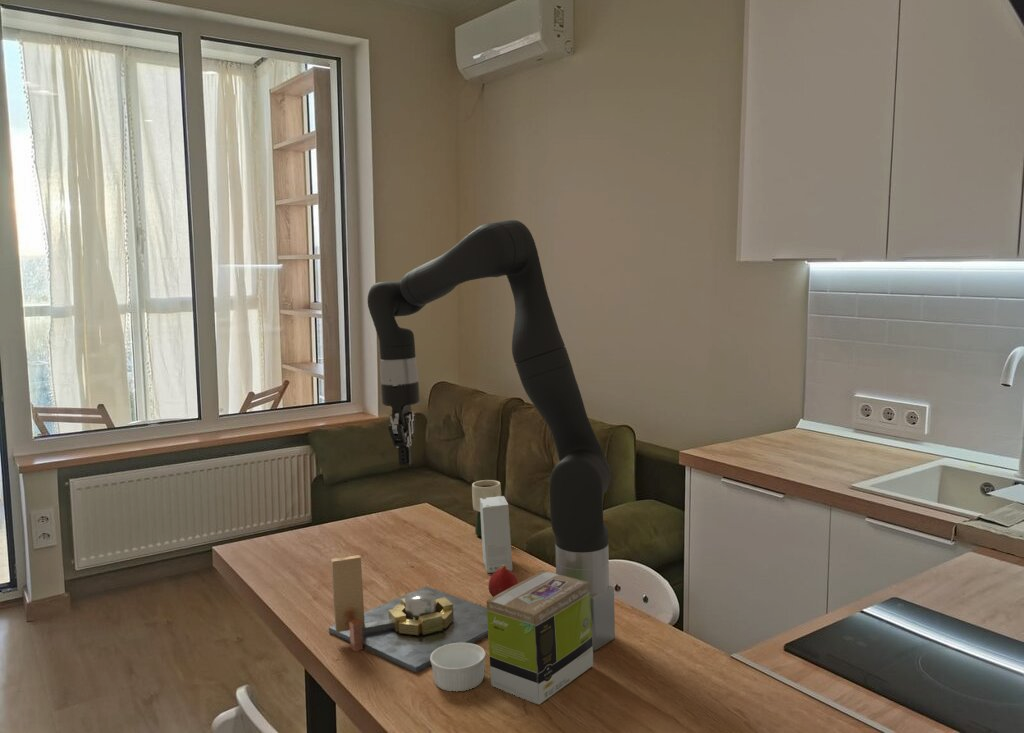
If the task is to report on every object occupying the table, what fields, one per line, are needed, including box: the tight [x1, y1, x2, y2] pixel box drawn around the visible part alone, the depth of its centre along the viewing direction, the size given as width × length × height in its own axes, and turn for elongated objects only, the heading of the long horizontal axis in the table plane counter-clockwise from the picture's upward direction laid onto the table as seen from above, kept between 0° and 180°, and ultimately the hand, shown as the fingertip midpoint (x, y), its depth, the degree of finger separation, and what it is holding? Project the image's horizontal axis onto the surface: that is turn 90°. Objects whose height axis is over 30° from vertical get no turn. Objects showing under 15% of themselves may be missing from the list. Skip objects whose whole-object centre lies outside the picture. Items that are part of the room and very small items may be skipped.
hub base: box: [328, 586, 488, 674], centre depth 147 cm, size 24×26×6 cm
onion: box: [488, 565, 519, 598], centre depth 157 cm, size 6×6×8 cm
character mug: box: [471, 479, 502, 537], centre depth 198 cm, size 11×7×13 cm, turn 40°
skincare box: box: [480, 495, 513, 574], centre depth 177 cm, size 8×6×15 cm
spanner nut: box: [330, 554, 454, 635], centre depth 147 cm, size 21×12×14 cm, turn 95°
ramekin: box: [430, 643, 487, 693], centre depth 129 cm, size 9×9×4 cm
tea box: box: [486, 570, 594, 705], centre depth 128 cm, size 15×10×15 cm, turn 141°
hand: (405, 464), depth 164 cm, fingers closed
